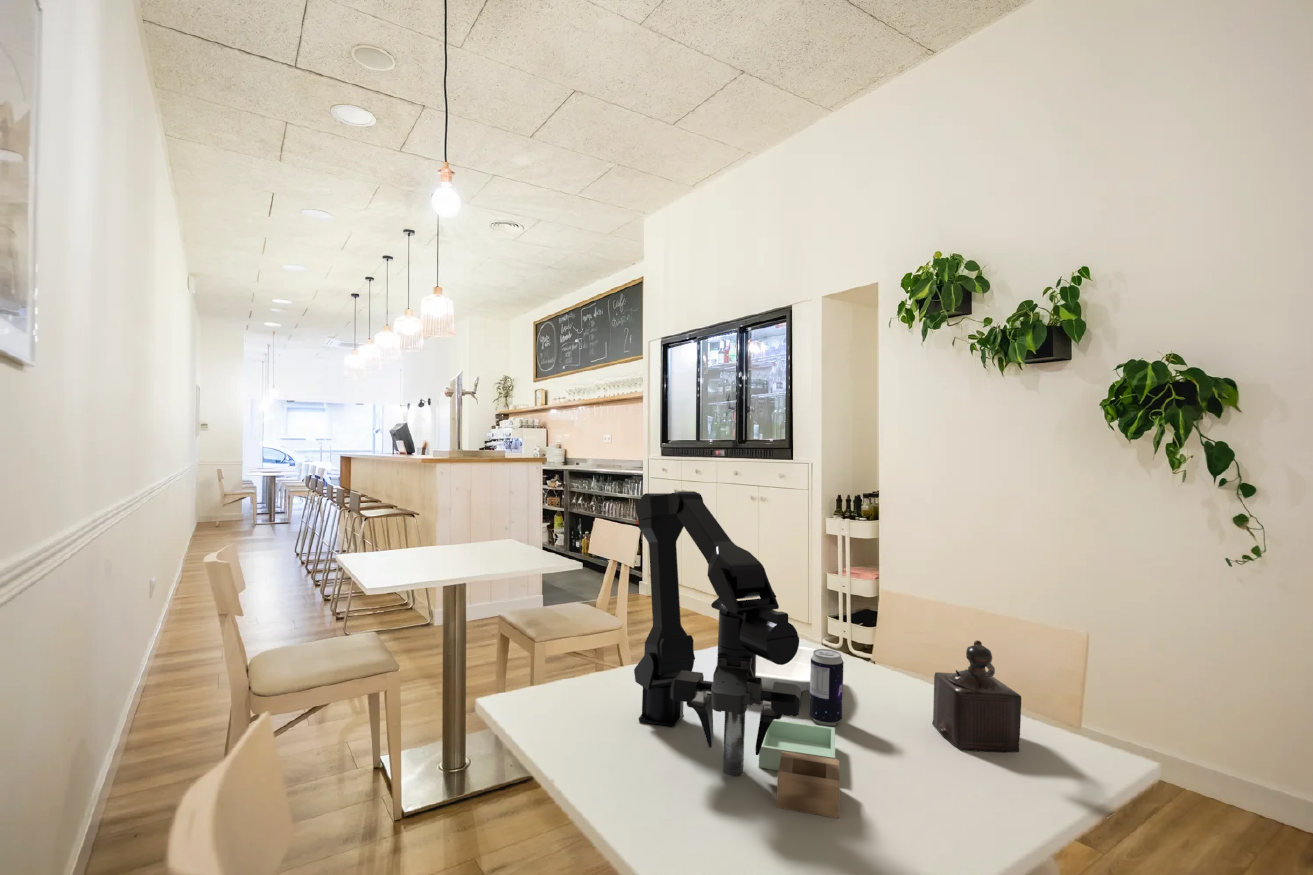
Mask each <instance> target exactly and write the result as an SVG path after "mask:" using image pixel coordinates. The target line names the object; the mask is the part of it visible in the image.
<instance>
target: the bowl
mask: <svg viewBox="0 0 1313 875" xmlns="http://www.w3.org/2000/svg"><path fill="white" fill-rule="evenodd" d="M814 650H817V648H812V647H807V646H799V647H798V650H797V653H796V655H795V656H794V658H793V659H792V660H791V661H790V662H788V663H786V664H784V665H778V664H775V663H773V662H771V661H769V660H766V659H764V658H762V657H760V656H758V655H756V677H758V678H761V680H762V688H766V689H773V685H774V682H781V683H789V684H797V685H798V686H799V688H800V689H801V693H802V692H803V691H808V692H810V668H811V657H812V655H813V651H814Z"/></svg>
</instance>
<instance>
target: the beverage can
mask: <svg viewBox="0 0 1313 875" xmlns="http://www.w3.org/2000/svg"><path fill="white" fill-rule="evenodd" d="M816 649H817V648H816ZM844 664H845V662H844V660H843V658H842V653H841V652H839V651H837V650H834V649H826V648H818V649H817V650H814V651H813V655H812V657H811V668H810V691H809V708H808V714H809V716H810V717H811V718H812V720H813V721H814V722H815V723H816V724H818V725H820V726H826V727H831V726H836V725H837V724H838V723H839V722H840V721H842V718H843V694H844Z"/></svg>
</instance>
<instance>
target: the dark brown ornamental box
mask: <svg viewBox="0 0 1313 875" xmlns="http://www.w3.org/2000/svg"><path fill="white" fill-rule="evenodd" d="M982 644H983V643H982V641H981V640H978V639H977V640H975V641H973V645H970V646H967V647H966V653H965V655H966V657H965V658H966V659H967V660H968V662H969V666H968V667H967V669H964V670H960V671H958V670H957V669H955V673H954V672H939V671H938V672H937V671H936V672H934V676H933V678H934V679H933V715H932V723H931V725H932V726H933V727H934V728H935V729H936V730H937V731H938V733H940V735H941V736H942V737H943V738H944V739H945V740H947V741H948V742H949V743H950V744H951V745H953V746H954V747H956V748H958V749H960V750H964V751H971V752H988V753H990V752H991V753H1019V752H1020V741H1021V740H1020V738H1021V719H1022V718H1021V717H1022V696H1021V695H1020V694H1019V693H1017V692H1016V691H1015V690H1013V689H1012V688H1011V687H1009V686H1007V685H1006V684H1004V683H1003V682H1001V681H1000V680H999V679H997V678H995V677H994V676H995V674H996V670H995V666H994V665H993V664H992V662H993V655H992V651H991V650H990V649H989V648H987V647H985V646H984V645H982ZM986 668H987V670H986Z"/></svg>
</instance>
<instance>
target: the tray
mask: <svg viewBox="0 0 1313 875" xmlns="http://www.w3.org/2000/svg"><path fill="white" fill-rule="evenodd" d="M782 751H784V752H791V753H797V754H804V755H811V756H817V757H824V758H830V759H836V727H831V726H826V725H819V724H818V725H817V724H809V723H803V722H796V721H789V720H788V721H787V720H781V719H774V720H773V721H772V723H771V724H770V726H769V728H768V730H767V732H766V735H765V738H764V740H763V743H762V746H761V749H760V752H759V755H758V768H760V769H768V770H773V771H779V766H780V760H781V754H782Z"/></svg>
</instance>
